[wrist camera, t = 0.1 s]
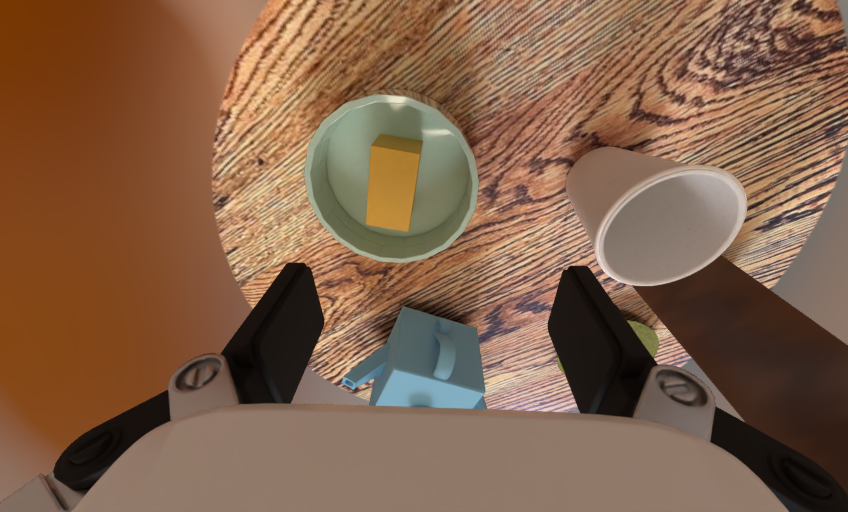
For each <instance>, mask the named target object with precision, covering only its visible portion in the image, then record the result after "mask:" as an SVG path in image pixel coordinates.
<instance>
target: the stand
mask: <svg viewBox="0 0 848 512" xmlns="http://www.w3.org/2000/svg"><path fill="white" fill-rule="evenodd" d="M632 286H633V288H634V289H635V290H636V291H637V292H638V294H639V295H640V296H641V297H642V298H643V300H644V301H645V302H646V303H647V304H648V306H649V307H650V308H651V309H652V310H653V312H654V313H655V314H656V315H657V316H658V318H659V319H660V320H661V321H662V323H663V324H664V325H665V326H666V327H667V329H668V330H669V331H670V332H671V333H672V335H673V336H674V337H675V338H676V339H677V341H678V342H679V343H680V344H681V345H682V347H683V348H684V349H685V350H686V351H687V353H688V354H689V355H690V356H691V357H692V359H693V360H694V361H695V362H696V363H697V365H698V366H699V367H700V368H701V369H702V371H703V372H704V373H705V374H706V375H707V377H708V378H709V379H710V380H711V381H712V383H713V384H714V385H715V386H716V388H717V389H718V390H719V391H720V392H721V393H722V395H723V396H724V397H725V398H726V400H727V401H728V402H729V403H730V404H731V405H732V407H733V408H734V409H735V410H736V412H737V413H738V414H739V415H740V416H741V418H742V419H743V420H744V421H745V422H746V423H747V424H748V425H750V426H752V427H754V428H756V429H757V430H759V431H761V432H763V433H765V434H767V435H768V436H770V437H772V438H774V439H776V440H777V441H779V442H781V443H783V444H785V445H787V446H788V447H790V448H792V449H794V450H796V451H797V452H799V453H801V454H803V455H805V456H806V457H808V458H809V459H811V460H812V461H814V462H816V463H817V464H819V465H820V466H821V467H822V468H823V469H825V470H826V471H827V472H828V473H830V474H831V475H832V476H833V477H834V478H835V480H836V481H837V482H838V483H839V484H840V485H841V486H842V488H843V489H844V491H845V492H846V494H847V495H848V345H846V344H845V343H844V342H842V341H841V340H840V339H838V338H836V337H835V336H834V335H832V334H831V333H830V332H828V331H827V330H825V329H824V328H823V327H821V326H820V325H818V324H817V323H816V322H814V321H813V320H811V319H810V318H809V317H807V316H806V315H804V314H803V313H802V312H800V311H799V310H797V309H796V308H795V307H793V306H792V305H790V304H789V303H788V302H786V301H785V300H783V299H782V298H781V297H779V296H778V295H776V294H775V293H774V292H772V291H771V290H769V289H768V288H767V287H765V286H764V285H762V284H761V283H760V282H758V281H757V280H755V279H754V278H753V277H751V276H750V275H748V274H747V273H745V272H744V271H743V270H741V269H740V268H738V267H737V266H736V265H734V264H733V263H731V262H730V261H729V260H727V259H726V258H724V257H723V256H722V255H720V256H719V257H717V258H716V259H715V260H714V261H712V262H711V263H710V264H708V265H707V266H705V267H704V268H702V269H701V270H699V271H697V272H695V273H693V274H691V275H689V276H687V277H684V278H682V279H679V280H676V281H673V282H669V283H665V284H660V285H653V286H635V285H632Z"/></svg>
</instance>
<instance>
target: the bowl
mask: <svg viewBox="0 0 848 512" xmlns="http://www.w3.org/2000/svg"><path fill="white" fill-rule="evenodd" d="M379 134H386V135H391V136H397V137H402V138H408V139H414V140H419V141H423V145H422V151H421V158H420V164H419V171H418V177H417V184H416V190H415V197H414V203H413V210H412V216H411V221H410V227H409V231H408V232H407V231H401V230H395V229H388V228H382V227H376V226H370V225H366V214H367V198H368V182H369V167H370V151H371V145H372V143H373V142H374V141H375V140H376V138H377V137H378V136H379ZM304 177H305V183H306V189H307V196H308V199H309V201H310V204H311V206H312V208H313V210H314V212H315V214H316V216H317V218H318V220H319V221H320V223H321V224H322V225H323V226H324V227H325V228H326V229H327V230H328V232H329V233H330V234H331V235H332V236H333V237H334V238H335V239H336V240H337V241H338V242H340V243H341V244H343V245H344V246H346V247H347V248H349V249H351V250H352V251H354V252H355V253H357V254H359V255H362V256H365V257H368V258H371V259H374V260H377V261H381V262H395V263H406V262H411V261H416V260H422V259H426V258H428V257H430V256H432V255H434V254H436V253H438V252H440V251H442V250H444V249H446V248H447V247H448V246H449V245H450V244H451V243H452V242H454V241H455V240H456V239H457V238H458V237H459V236H460V235H461V234H462V233H463V232H464V230H465V228H466V226H467V225H468V223H469V221H470V219H471V217H472V215H473V213H474V211H475V208H476V202H477V196H478V190H479V179H478V173H477V167H476V162H475V157H474V154H473V151H472V148H471V145H470V142H469V141H468V139H467V137H466V135H465V133H464V131H463V129H462V127H461V126H460V124H459V122H458V121H457V119H455V118H454V117H453V115H452V114H451V113H450V112H449V111H448V110H447V109H445V108H444V107H443V106H442V105H441V104H439V103H438V102H437V101H435V100H433V99H431V98H429V97H427V96H425V95H423V94H420V93H417V92H414V91H411V90H404V89H381V90H378V91H373V92H371V93H368V94H364V95H361V96H358V97H356V98H354V99H352V100H350V101H348V102H346V103H344V104H343V105H342V106H341V107H339V108H338V109H337V110H336V111H334V112H333V113H332V114H331V115H329V116H328V117H327V118H325V119H324V120H323V121H322V122H321V124H320V126H319V128H318V129H317V131H316V133H315V134H314V136H313V138H312V140H311V141H310V143H309V146H308V150H307V156H306V162H305V167H304Z"/></svg>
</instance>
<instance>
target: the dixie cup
mask: <svg viewBox="0 0 848 512" xmlns="http://www.w3.org/2000/svg"><path fill="white" fill-rule="evenodd" d="M566 193H567V196H568V198H569V200H570V202H571V204H572V205H573V207H574V209H575V211H576V213H577V215H578V217H579V219H580V221H581V223H582V225H583V227H584V229H585V231H586V233H587V235H588V237H589V239H590V241H591V243H592V244H593V246H594V250H595V256H596V259H597V262H598V264H599V266H600V267H601V268H602V270H603V271H604V272H605V273H606V274H607V275H608V276H610V277H611V278H613V279H615V280H617V281H619V282H622V283H625V284H629V285H635V286H653V285H660V284H665V283H669V282H673V281H676V280H679V279H682V278H684V277H687V276H689V275H691V274H693V273H695V272H697V271H699V270H701V269H702V268H704V267H705V266H707V265H708V264H710V263H711V262H712V261H714V260H715V259H716V258H717V257H719V256H720V255H721V254H722V253H723V252H724V251H725V250H726V249H727V248H728V247H729V245H730V244H731V243H732V242H733V240H734V239H735V237H736V236H737V234H738V233H739V231H740V229H741V227H742V225H743V223H744V220H745V217H746V212H747V196H746V193H745V190H744V188H743V186H742V184H741V183H740V181H739V180H738V179H737V178H736V177H735V176H734V175H732V174H731V173H729V172H728V171H726V170H723V169H721V168H718V167H714V166H709V165H688V164H684V163H680V162H675V161H671V160H667V159H663V158H659V157H654V156H650V155H646V154H642V153H638V152H633V151H629V150H625V149H621V148H617V147H601V148H597V149H594V150H592V151H590V152H588V153H586V154H585V155H583V156H582V157H581V158H580V159H579V160H577V162H576V163H575V164H574V165H573V166H572V168H571V169H570V171H569V173H568V176H567V179H566Z"/></svg>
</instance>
